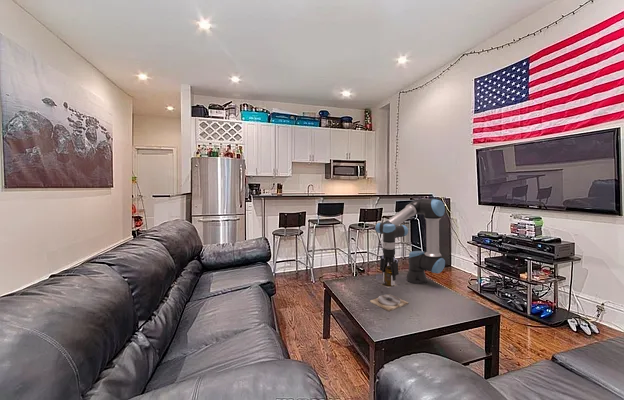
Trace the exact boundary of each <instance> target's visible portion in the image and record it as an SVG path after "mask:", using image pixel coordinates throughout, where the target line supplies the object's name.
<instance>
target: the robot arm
mask: <svg viewBox="0 0 624 400" xmlns="http://www.w3.org/2000/svg"><path fill="white" fill-rule="evenodd" d="M445 212H446V206H445V204H444V202H443V201H442V200H440V199H435V198H433V199H432V198H418V199H416V200H415V199H414V200H413V201H411V202H410V203H408V204H406V205H405V207H404V208H403V209H402V210H400V211H398V212H397V213H396V214H394V215H393V216H391V217H390V218H388V219H387V220H385V221H383V222H377V223H376V224H375V232H376V233H378V234H380V235H382V236H383V237H382V247H383V248H382V255H379V259H380V260H379V271H381V272H382V283H385V270H386V266H390V267H391V272H392V275H391V285H392V286H393V285H395V284H396V280H397V279H396V278H397V276H398V275H399V274H400V273H399V259H397V258H395V255H396V239H397V238H403V237H406V236H408V234H409V228H408V227H407V226H406V225H404V224H402V223H405V222H406V221H407V220H408V219H410V218H411V217H414V216H416V215H423V218H424V220H425V222H426V223H425V224H426V225H425V226H426V231H425V232H426V233H425V234H426V236H425V237H426V251H423V250H413V251H412V250H411V251H410V252H409V253H408V272H407V274H406V277H405V278H406V281H407V282H408V283H410V284H411V283H412V284H415V285H422V284H423V285H424V284H426V283H427V281H428V278H427V275H426V272H429V273H433V274H440V273H442V271H443V270H444V268H445V266H446V260H445V259H444V258H443V257H442V254H441V252H440V220H441V219H442V217H443V216H444V215H445ZM425 271H426V272H425Z"/></svg>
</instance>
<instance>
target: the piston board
mask: <svg viewBox="0 0 624 400" xmlns="http://www.w3.org/2000/svg"><path fill="white" fill-rule="evenodd" d="M369 303H371V304H373V305H375V306H377V307H379V308H381V309H384V310H385V311H387V312H391V311H394V310H397V309H398V308H401V307H405V306H406V305H409V301H406V300H404V299H401V298H400V297H399V296H396V295H392V294H390V293H389V294H382V295H379V296H378V297H377V298H374V299H371V300H369Z"/></svg>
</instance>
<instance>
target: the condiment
mask: <svg viewBox="0 0 624 400" xmlns="http://www.w3.org/2000/svg"><path fill="white" fill-rule="evenodd" d="M391 275H392V272H391V267H390V265H387V266H386V270H385V282H382V283H380V284H379V285H380V286H383V287H384V288H388V289H390V288H393V287H396V286H398V284H396V283H395V285H393V286H392V285H391Z"/></svg>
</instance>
